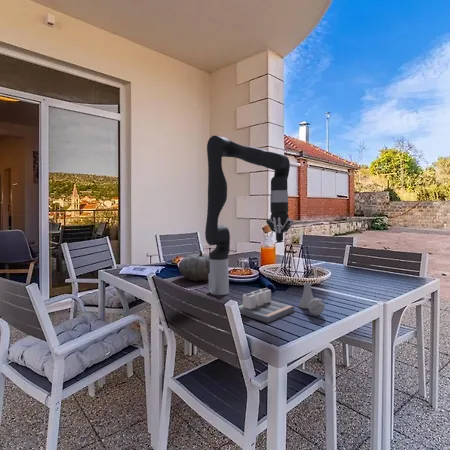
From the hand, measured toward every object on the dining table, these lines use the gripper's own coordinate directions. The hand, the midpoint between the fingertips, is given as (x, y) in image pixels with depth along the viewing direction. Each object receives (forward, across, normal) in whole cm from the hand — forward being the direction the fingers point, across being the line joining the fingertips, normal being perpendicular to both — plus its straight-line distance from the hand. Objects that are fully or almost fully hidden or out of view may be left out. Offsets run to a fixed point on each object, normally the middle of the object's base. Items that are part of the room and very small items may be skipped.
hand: (279, 241), depth 138 cm
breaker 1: (+25, -2, -18) cm, 31 cm away
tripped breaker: (+25, -2, -13) cm, 28 cm away
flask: (+27, +11, +4) cm, 30 cm away
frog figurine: (+27, +19, -3) cm, 33 cm away
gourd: (+27, -63, +7) cm, 69 cm away
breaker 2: (+25, -2, -8) cm, 26 cm away
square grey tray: (+27, +2, -13) cm, 30 cm away
